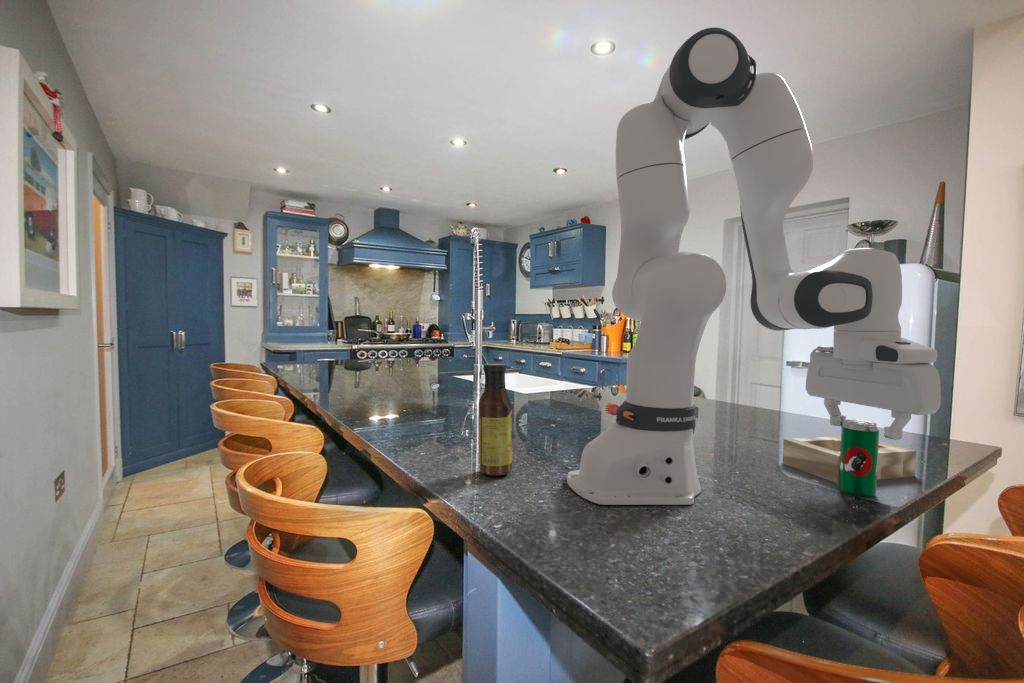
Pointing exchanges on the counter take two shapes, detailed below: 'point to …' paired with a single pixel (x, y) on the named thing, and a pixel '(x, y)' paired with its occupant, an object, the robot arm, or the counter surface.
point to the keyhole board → (825, 458)
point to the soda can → (859, 458)
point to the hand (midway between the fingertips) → (863, 431)
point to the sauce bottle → (495, 423)
